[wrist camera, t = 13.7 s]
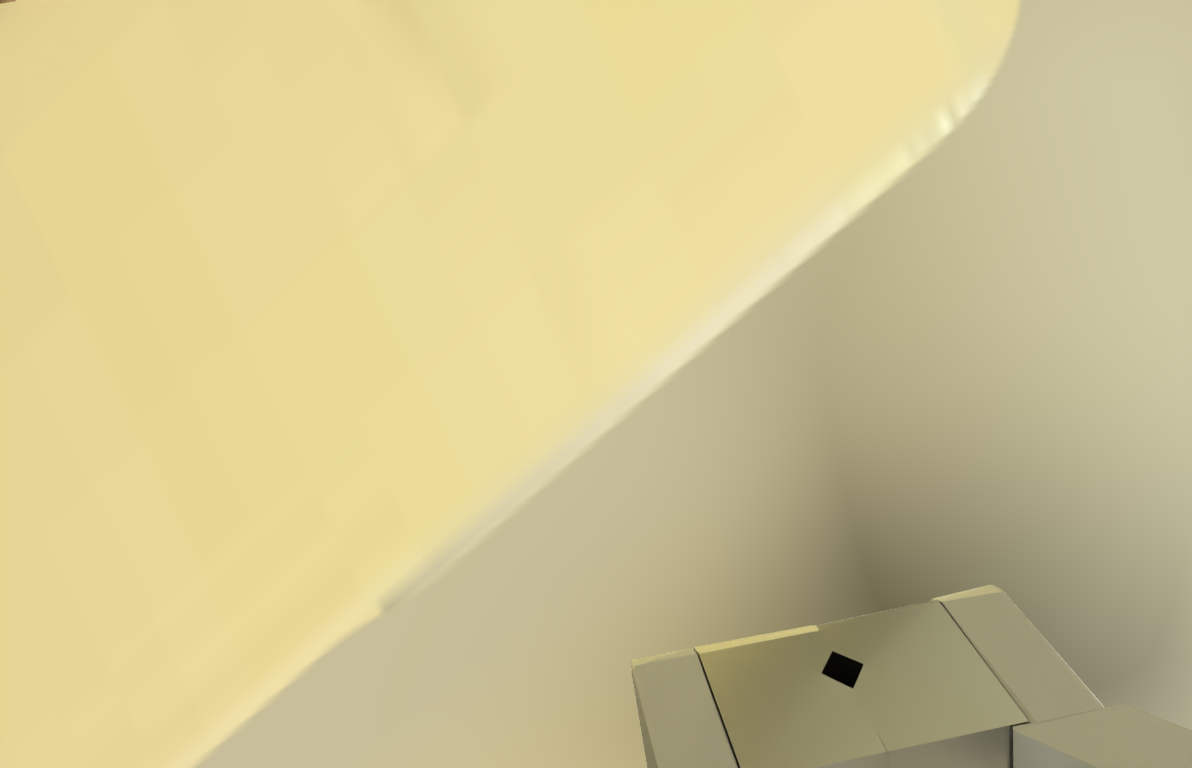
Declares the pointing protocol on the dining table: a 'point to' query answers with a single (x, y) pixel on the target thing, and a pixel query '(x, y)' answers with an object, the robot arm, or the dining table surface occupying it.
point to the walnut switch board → (4, 0)
